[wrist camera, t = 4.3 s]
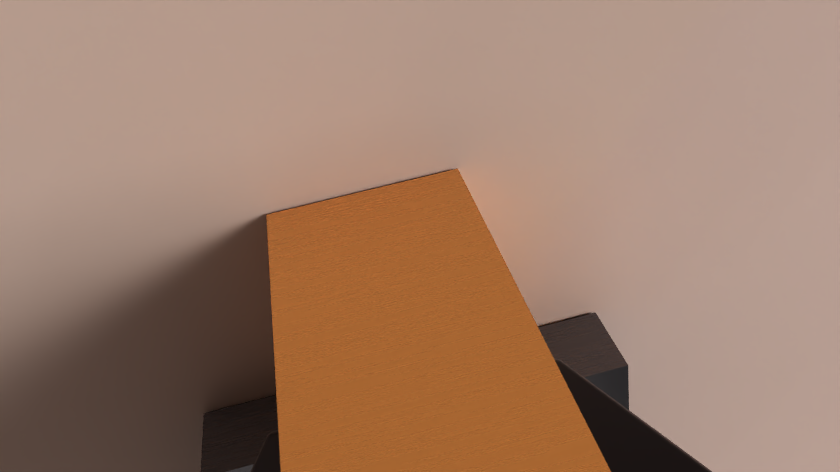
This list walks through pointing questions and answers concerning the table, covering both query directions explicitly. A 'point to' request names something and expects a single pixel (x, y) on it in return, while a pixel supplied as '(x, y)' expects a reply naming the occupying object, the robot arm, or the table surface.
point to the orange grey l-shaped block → (411, 347)
